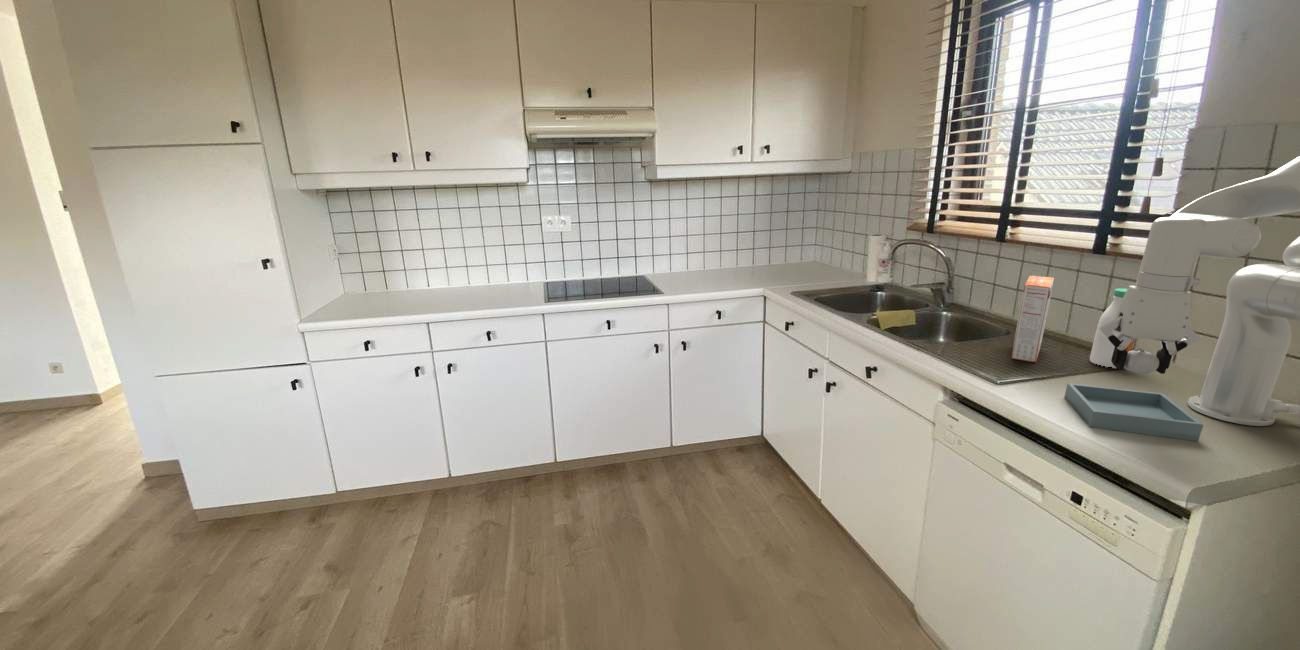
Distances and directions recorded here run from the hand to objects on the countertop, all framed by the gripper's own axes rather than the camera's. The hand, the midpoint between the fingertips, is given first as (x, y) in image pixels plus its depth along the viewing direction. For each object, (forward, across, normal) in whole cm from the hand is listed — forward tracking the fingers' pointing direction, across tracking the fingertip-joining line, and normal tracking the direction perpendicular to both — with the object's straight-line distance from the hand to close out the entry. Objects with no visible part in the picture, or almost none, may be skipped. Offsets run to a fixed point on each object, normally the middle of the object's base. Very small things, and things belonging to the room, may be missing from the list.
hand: (1137, 368), depth 107 cm
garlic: (+1, 0, 0) cm, 1 cm away
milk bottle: (+11, -9, -36) cm, 38 cm away
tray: (+11, 0, 0) cm, 11 cm away
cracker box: (+11, +9, -38) cm, 40 cm away
